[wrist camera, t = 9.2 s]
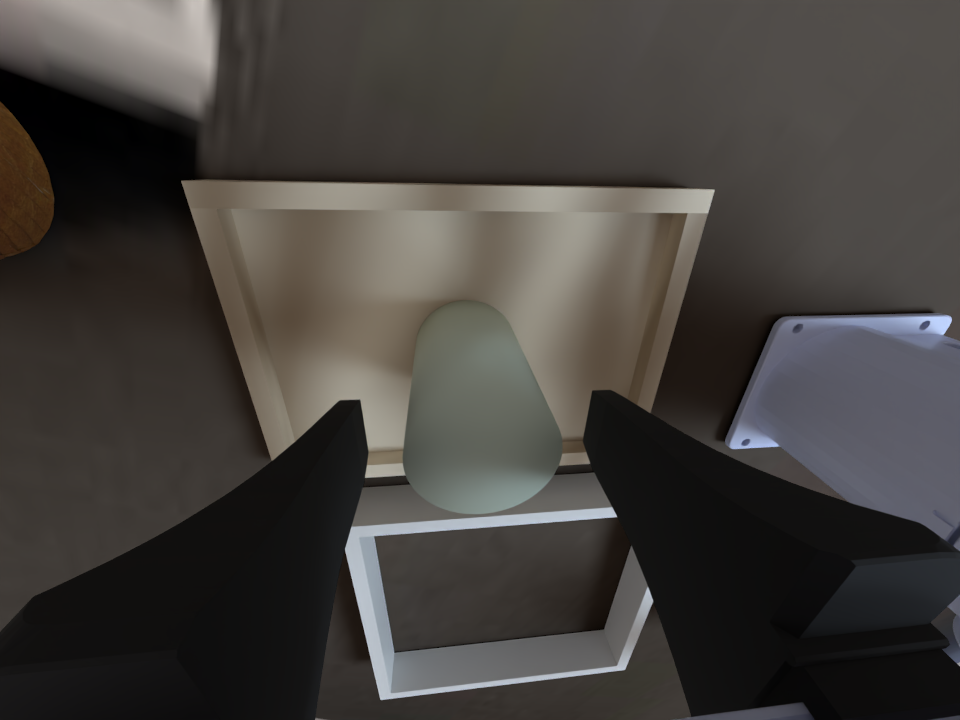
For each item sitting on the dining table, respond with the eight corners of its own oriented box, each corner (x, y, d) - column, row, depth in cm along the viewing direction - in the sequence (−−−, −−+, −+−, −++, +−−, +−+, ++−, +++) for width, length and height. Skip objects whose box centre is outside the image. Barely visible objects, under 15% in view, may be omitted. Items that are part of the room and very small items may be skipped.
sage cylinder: (527, 311, 16) (586, 403, 9) (500, 396, 18) (534, 519, 11) (424, 290, 15) (416, 377, 9) (408, 382, 17) (391, 508, 10)
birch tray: (689, 187, 15) (714, 189, 13) (623, 442, 21) (636, 461, 19) (207, 179, 13) (180, 180, 11) (290, 461, 19) (279, 483, 17)
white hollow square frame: (668, 467, 22) (694, 501, 20) (611, 633, 31) (624, 669, 28) (350, 488, 20) (339, 527, 18) (384, 659, 29) (380, 700, 26)
